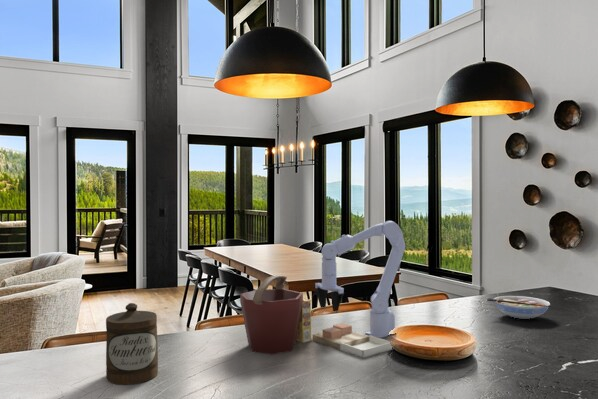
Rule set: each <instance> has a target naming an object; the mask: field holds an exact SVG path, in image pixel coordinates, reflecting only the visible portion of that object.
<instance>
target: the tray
mask: <svg viewBox="0 0 598 399" xmlns="http://www.w3.org/2000/svg"><path fill="white" fill-rule="evenodd" d="M368 336H369V341H368V342H364V343H360V344H357V345H353V346H350V345H348V344H345V343H340V350H339V351H343V352H345V353H348V354H350V355H353V356H357V357H359V358H363V359H365V358H368V357H371V356H374V355H379V354H382V353H385V352H388V351H392V350H393V349H392V346H391V344H390V342H389V341H390V340H387V339H384V338H379V337H375V336H372V335H369V334H368Z"/></svg>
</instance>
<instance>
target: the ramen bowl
mask: <svg viewBox="0 0 598 399" xmlns="http://www.w3.org/2000/svg"><path fill="white" fill-rule="evenodd" d="M486 301H487V302H493V303H494V304H495V306H496V307H497V308H498V310H499V311H500V312H502V313H503V314H505V315H506V316H509V317H511V318H512V317H514V318H513V319H515V318H520V319H529V320H530V318H531V319H534V318H537V317H540V316H542V315H543V314H544V313H546V312H547V310H548V309H549V308H552V306H551V303H550V302H549V301H547V300H545V299H542V298H537V297H531V296H524V295H502V296H497V297H494V298H488V299H486Z"/></svg>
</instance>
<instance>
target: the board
mask: <svg viewBox="0 0 598 399" xmlns="http://www.w3.org/2000/svg"><path fill="white" fill-rule="evenodd" d="M311 341H315V342H317V343H320V344H323V345H325V346H329V347H331V348H334V349H337V350H339V351H341V350H340V343H345V344H348V345H350V346H353V345H357V344H360V343H364V342H368V341H369V335H368V334H365V333H360V332H357V331H354V330H352V332H351V333H347V334H343V335H342V337H339V338H335V339H329V338H326V337H323V331H322V332H318V333H313V334H311Z"/></svg>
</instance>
